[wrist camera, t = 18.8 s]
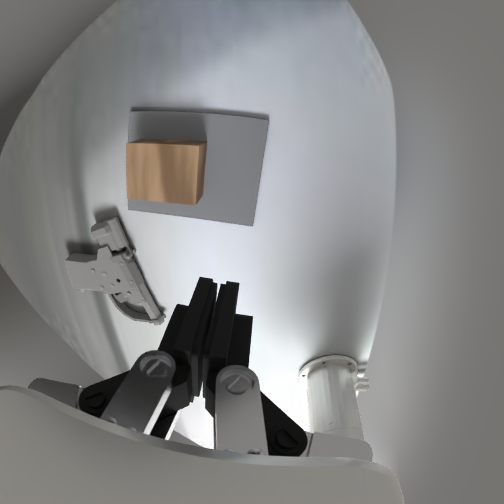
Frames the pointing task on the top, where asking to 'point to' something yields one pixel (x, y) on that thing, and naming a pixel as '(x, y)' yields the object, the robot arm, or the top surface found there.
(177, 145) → the wooden block
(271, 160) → the top surface
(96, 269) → the pistol
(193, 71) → the top surface
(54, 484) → the robot arm
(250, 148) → the rubber mat
